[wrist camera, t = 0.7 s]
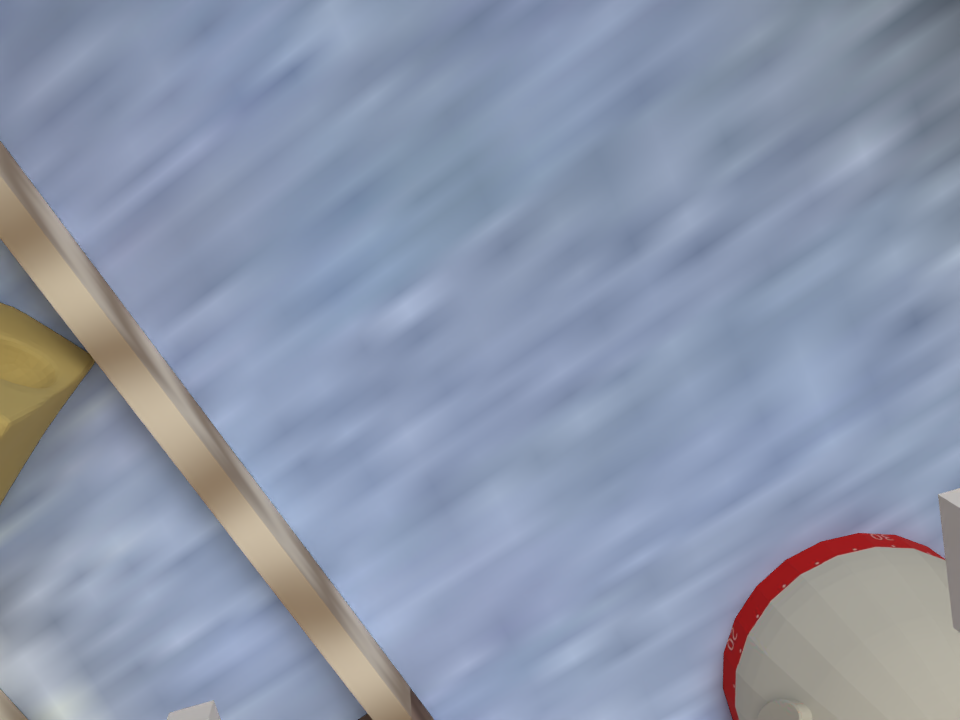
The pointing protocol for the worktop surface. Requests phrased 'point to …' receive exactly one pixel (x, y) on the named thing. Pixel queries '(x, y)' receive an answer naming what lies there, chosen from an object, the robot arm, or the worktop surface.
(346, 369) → the worktop surface
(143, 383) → the channel
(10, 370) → the cheese
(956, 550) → the robot arm
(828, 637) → the kitchen timer
